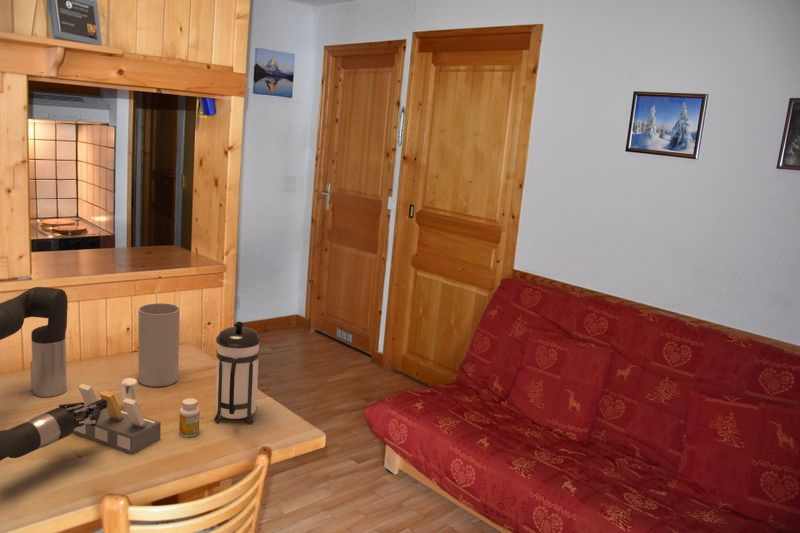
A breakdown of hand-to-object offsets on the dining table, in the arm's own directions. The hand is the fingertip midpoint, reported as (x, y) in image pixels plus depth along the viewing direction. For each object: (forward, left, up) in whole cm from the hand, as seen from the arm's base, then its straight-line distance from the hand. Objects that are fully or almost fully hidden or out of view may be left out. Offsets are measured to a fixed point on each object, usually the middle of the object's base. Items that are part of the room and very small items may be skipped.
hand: (105, 403), depth 174 cm
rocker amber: (-1, +4, -6) cm, 7 cm away
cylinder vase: (-19, +39, -12) cm, 45 cm away
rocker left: (-9, +4, -6) cm, 11 cm away
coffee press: (+19, +31, -12) cm, 39 cm away
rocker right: (+7, +4, -6) cm, 10 cm away
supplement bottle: (+14, +16, -12) cm, 25 cm away
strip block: (-1, +4, -12) cm, 12 cm away
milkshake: (-11, +19, -12) cm, 25 cm away
